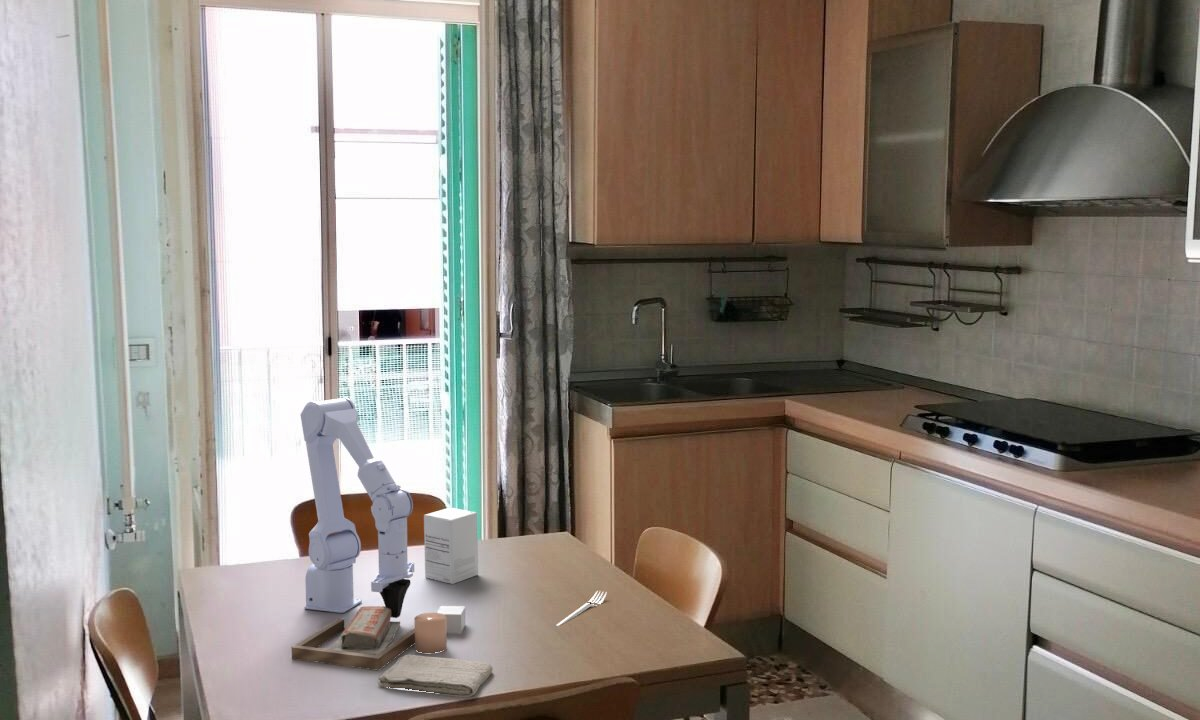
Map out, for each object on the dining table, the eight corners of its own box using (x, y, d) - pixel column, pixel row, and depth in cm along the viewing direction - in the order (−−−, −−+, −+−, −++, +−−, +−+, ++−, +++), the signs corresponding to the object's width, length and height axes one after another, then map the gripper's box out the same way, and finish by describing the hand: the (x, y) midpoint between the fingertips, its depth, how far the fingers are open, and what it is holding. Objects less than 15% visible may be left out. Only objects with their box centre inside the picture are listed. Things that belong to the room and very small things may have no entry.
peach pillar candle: (409, 652, 212) (408, 621, 211) (423, 641, 218) (423, 611, 217) (438, 655, 210) (437, 624, 210) (452, 644, 216) (451, 614, 215)
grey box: (436, 633, 222) (435, 614, 222) (440, 625, 227) (440, 605, 227) (461, 634, 222) (461, 614, 222) (465, 625, 227) (465, 606, 227)
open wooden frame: (291, 658, 208) (291, 647, 208) (339, 629, 224) (338, 618, 224) (378, 670, 203) (378, 658, 203) (420, 639, 219) (420, 628, 218)
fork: (549, 628, 227) (549, 619, 227) (595, 598, 245) (595, 589, 245) (563, 631, 226) (563, 622, 226) (609, 600, 243) (608, 592, 243)
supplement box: (450, 568, 266) (450, 506, 264) (479, 575, 261) (478, 511, 259) (423, 577, 258) (422, 513, 257) (452, 584, 253) (451, 519, 252)
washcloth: (401, 666, 206) (400, 650, 206) (495, 674, 202) (494, 657, 202) (375, 691, 195) (374, 674, 194) (474, 701, 191) (474, 683, 191)
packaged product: (350, 603, 226) (400, 603, 226) (351, 626, 227) (400, 627, 227) (328, 634, 208) (381, 635, 208) (328, 659, 209) (382, 660, 209)
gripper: (393, 562, 217) (394, 630, 219) (427, 543, 231) (428, 607, 233) (361, 559, 220) (362, 626, 221) (396, 540, 233) (397, 603, 235)
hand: (394, 616), depth 227 cm, fingers closed
